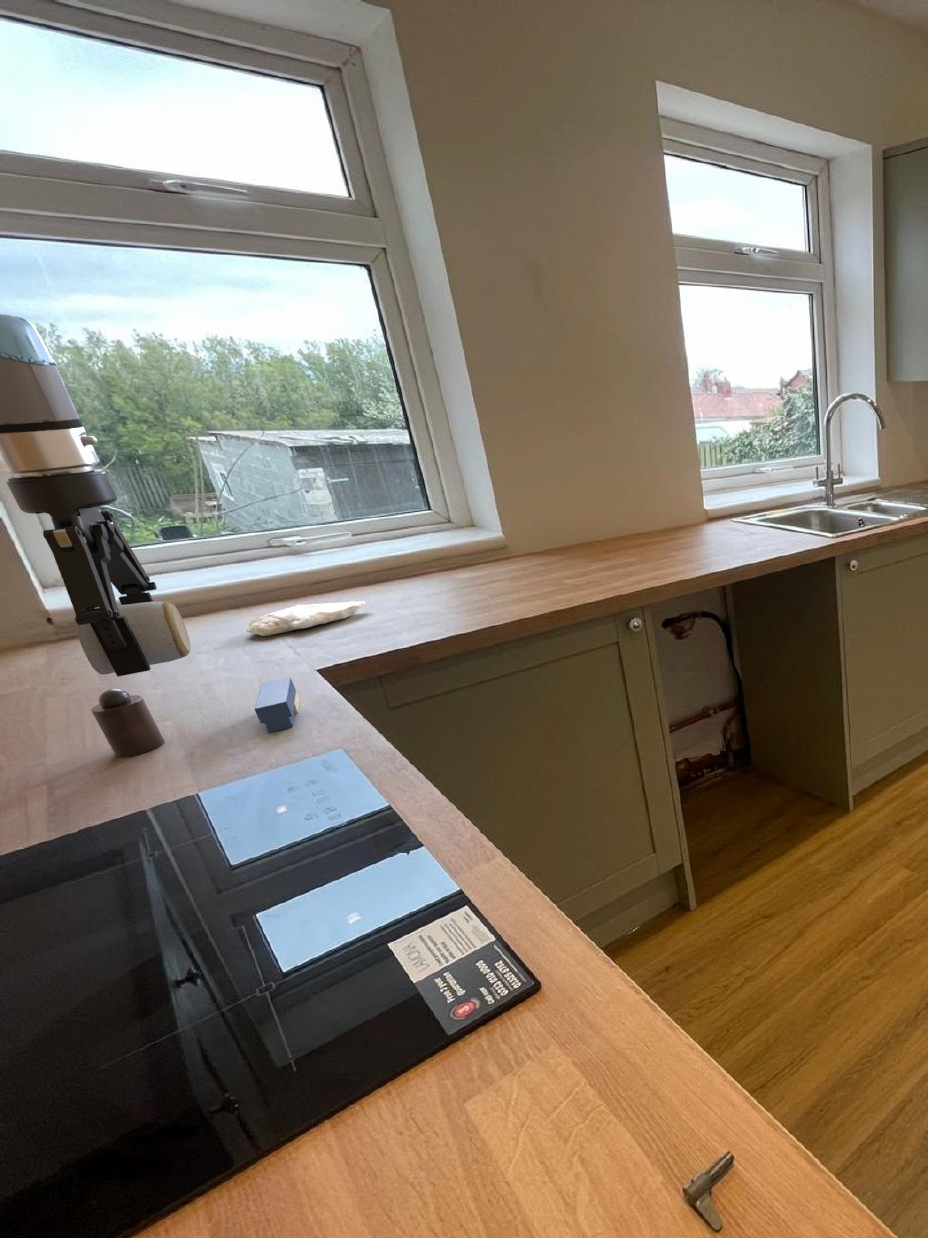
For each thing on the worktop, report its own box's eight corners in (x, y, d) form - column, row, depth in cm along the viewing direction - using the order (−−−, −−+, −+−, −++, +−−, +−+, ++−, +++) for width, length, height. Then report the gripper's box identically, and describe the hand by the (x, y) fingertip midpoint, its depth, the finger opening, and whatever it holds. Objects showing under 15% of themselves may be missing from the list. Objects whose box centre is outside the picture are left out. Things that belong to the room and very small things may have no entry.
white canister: (193, 662, 86) (165, 601, 83) (97, 683, 81) (64, 618, 78) (198, 641, 93) (173, 585, 90) (111, 659, 89) (81, 599, 86)
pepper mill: (111, 761, 97) (78, 701, 93) (120, 746, 100) (89, 688, 97) (161, 749, 99) (131, 690, 96) (167, 735, 103) (139, 678, 99)
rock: (248, 628, 146) (364, 606, 158) (249, 646, 136) (373, 620, 148) (241, 611, 144) (359, 589, 156) (242, 627, 135) (367, 603, 147)
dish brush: (296, 726, 104) (286, 701, 102) (265, 734, 102) (254, 708, 100) (300, 700, 112) (290, 677, 111) (271, 707, 110) (261, 683, 109)
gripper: (67, 479, 71) (166, 680, 80) (129, 458, 89) (204, 624, 98) (-44, 489, 67) (72, 699, 76) (43, 465, 85) (129, 637, 94)
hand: (146, 657), depth 87 cm, fingers closed on white canister, 11 cm apart
